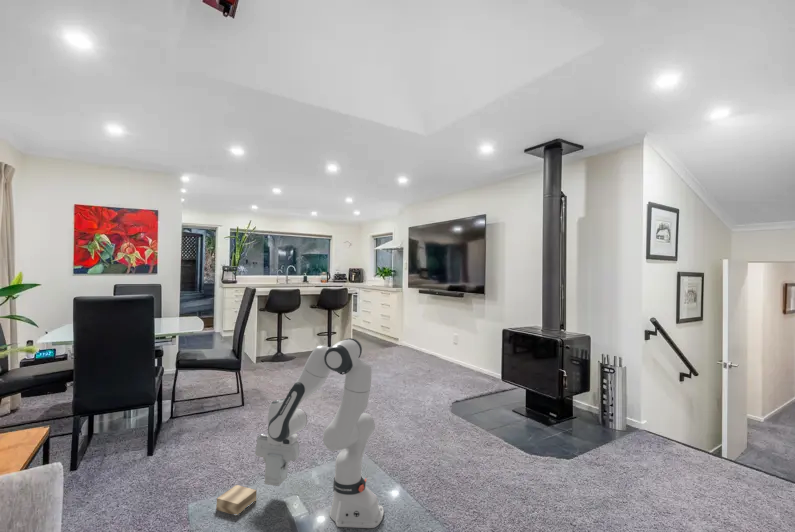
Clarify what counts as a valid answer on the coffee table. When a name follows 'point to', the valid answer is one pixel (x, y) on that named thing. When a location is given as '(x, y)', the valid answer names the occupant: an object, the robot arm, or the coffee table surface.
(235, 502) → the oak riser block
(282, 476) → the supplement box
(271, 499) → the coffee table surface
